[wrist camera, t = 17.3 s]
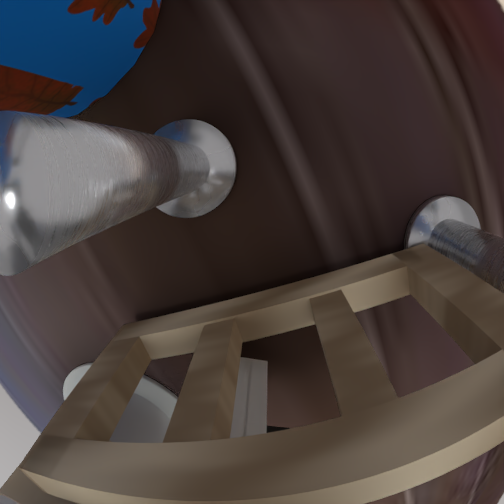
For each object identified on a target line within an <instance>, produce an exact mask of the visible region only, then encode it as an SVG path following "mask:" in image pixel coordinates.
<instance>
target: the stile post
mask: <svg viewBox="0 0 504 504" xmlns="http://www.w3.org/2000/svg"><path fill="white" fill-rule="evenodd" d="M236 173H237V161H236V156H235V152H234V149H233V147H232V145H231V143H230V142H229V140H228V139H227V138H226V137H225V135H224V134H223V133H221V132H220V131H219V130H218V129H217V128H215V127H213V126H212V125H210V124H208V123H206V122H203V121H199V120H194V119H184V120H178V121H174V122H171V123H169V124H167V125H165V126H163V127H162V128H160V129H159V130H158V131H157V132H155V133H154V134H153V135H152V134H148V133H143V132H139V131H134V130H130V129H125V128H120V127H115V126H110V125H105V124H99V123H94V122H88V121H82V120H76V119H70V118H64V117H57V116H50V115H43V114H35V113H27V112H17V111H0V274H1V275H4V276H12V275H16V274H18V273H21V272H23V271H24V270H26V269H28V268H30V267H32V266H34V265H35V264H37V263H39V262H41V261H43V260H45V259H47V258H49V257H51V256H52V255H54V254H56V253H58V252H60V251H62V250H64V249H66V248H68V247H70V246H72V245H74V244H76V243H78V242H80V241H82V240H84V239H86V238H89V237H91V236H93V235H95V234H97V233H99V232H101V231H103V230H105V229H108V228H110V227H112V226H114V225H116V224H118V223H121V222H123V221H125V220H127V219H130V218H132V217H134V216H136V215H139V214H141V213H143V212H146V211H148V210H150V209H153V208H155V207H157V208H158V209H160V210H161V211H163V212H164V213H166V214H169V215H171V216H175V217H180V218H192V217H198V216H201V215H204V214H206V213H208V212H210V211H212V210H213V209H215V208H216V207H217V206H218V205H219V204H221V203H222V202H223V201H224V199H225V198H226V197H227V196H228V194H229V193H230V191H231V189H232V187H233V185H234V182H235V178H236Z"/></svg>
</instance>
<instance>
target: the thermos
mask: <svg viewBox="0 0 504 504" xmlns="http://www.w3.org/2000/svg"><path fill="white" fill-rule="evenodd" d="M161 4H162V0H0V111H17V112H27V113H35V114H43V115H50V116H57V117H64V118H67V117H71V116H74V115H78V114H79V113H80V112H82V111H83V110H85V109H86V108H87V107H89V106H90V105H92V104H93V103H95V102H96V101H98V100H99V99H101V98H102V97H104V96H105V95H107V94H108V93H109V91H110V90H111V89H112V88H113V87H114V86H115V85H116V84H117V83H118V81H119V80H120V79H121V78H122V77H123V76H124V75H125V74H126V73H127V72H128V71H129V70H130V69H131V68H132V67H133V66H134V65H135V63H136V61H137V59H138V57H139V56H140V54H141V52H142V51H143V49H144V47H145V46H146V44H147V42H148V41H149V39H150V37H151V36H152V34H153V33H154V30H155V26H156V22H157V18H158V14H159V11H160V7H161Z"/></svg>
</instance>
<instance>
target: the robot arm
mask: <svg viewBox="0 0 504 504" xmlns="http://www.w3.org/2000/svg"><path fill="white" fill-rule="evenodd" d="M267 367H268V361H264V360H257V359H250V358H244V357H240V365H239V372H238V380H237V388H236V395H235V403H234V411H233V418H232V426H231V433H230V438H236V437H244V436H251V435H258V434H264V433H270V432H276V431H281V430H286V429H290V428H284V427H273V426H267Z"/></svg>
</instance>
